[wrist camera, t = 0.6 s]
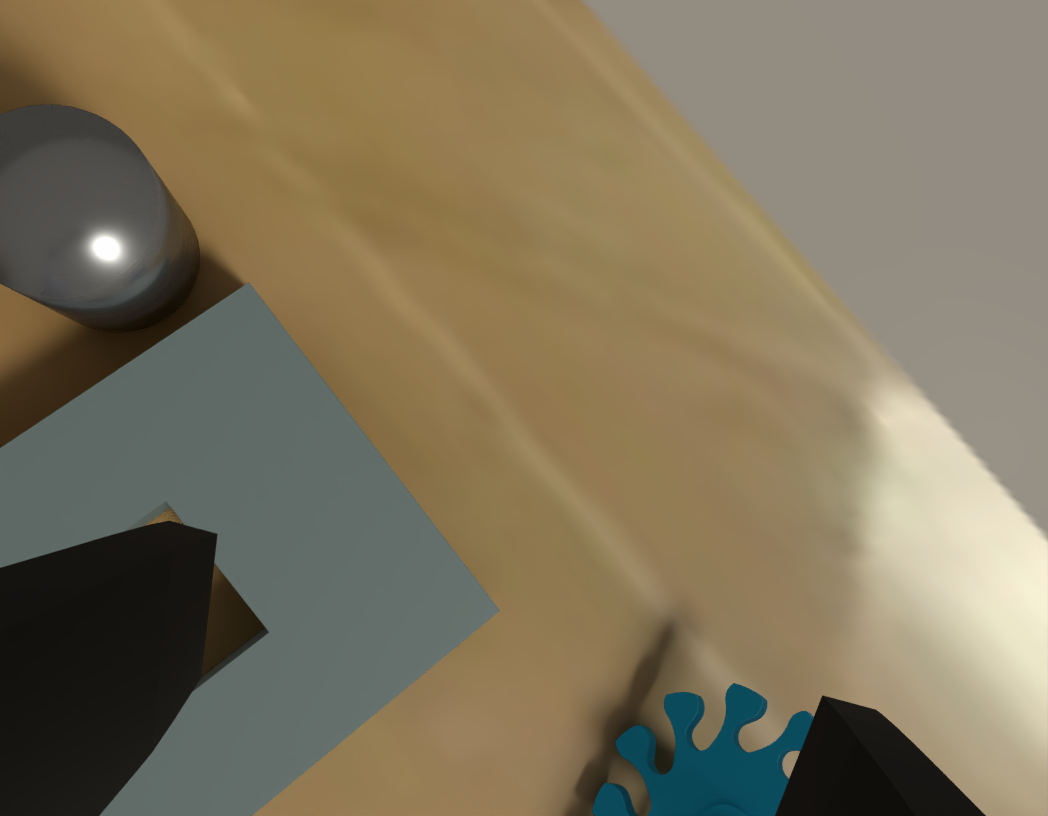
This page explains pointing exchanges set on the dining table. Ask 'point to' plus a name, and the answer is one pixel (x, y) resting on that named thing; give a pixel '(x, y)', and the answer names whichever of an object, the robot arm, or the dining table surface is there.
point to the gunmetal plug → (89, 221)
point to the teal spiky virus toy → (708, 763)
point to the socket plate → (250, 547)
